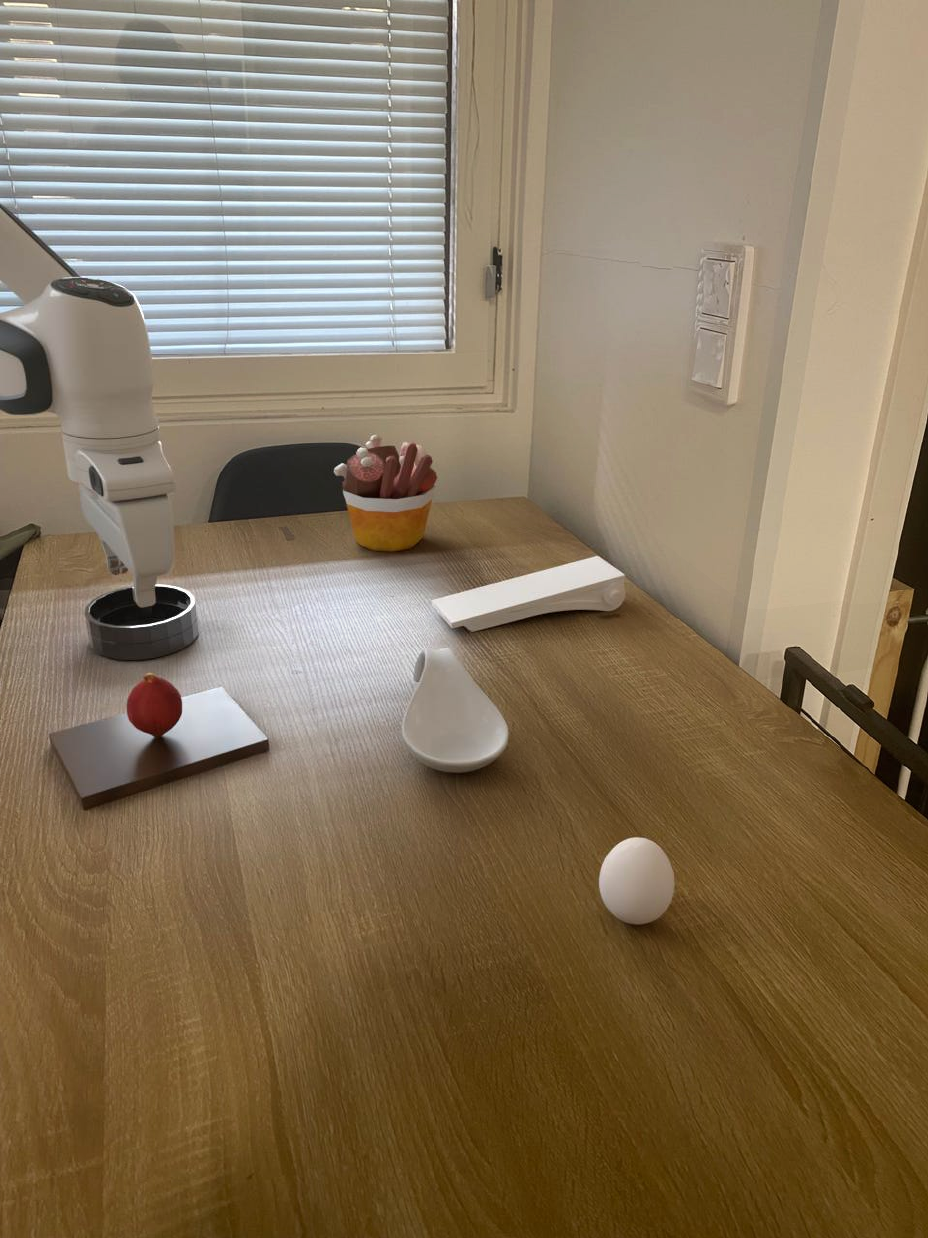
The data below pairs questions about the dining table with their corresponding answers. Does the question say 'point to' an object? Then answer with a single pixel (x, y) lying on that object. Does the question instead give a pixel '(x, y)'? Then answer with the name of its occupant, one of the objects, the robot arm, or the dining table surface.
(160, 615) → the pan
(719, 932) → the dining table surface
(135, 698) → the onion
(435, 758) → the spoon rest
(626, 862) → the egg
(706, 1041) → the dining table surface
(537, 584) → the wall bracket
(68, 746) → the board
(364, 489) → the bucket of meat
